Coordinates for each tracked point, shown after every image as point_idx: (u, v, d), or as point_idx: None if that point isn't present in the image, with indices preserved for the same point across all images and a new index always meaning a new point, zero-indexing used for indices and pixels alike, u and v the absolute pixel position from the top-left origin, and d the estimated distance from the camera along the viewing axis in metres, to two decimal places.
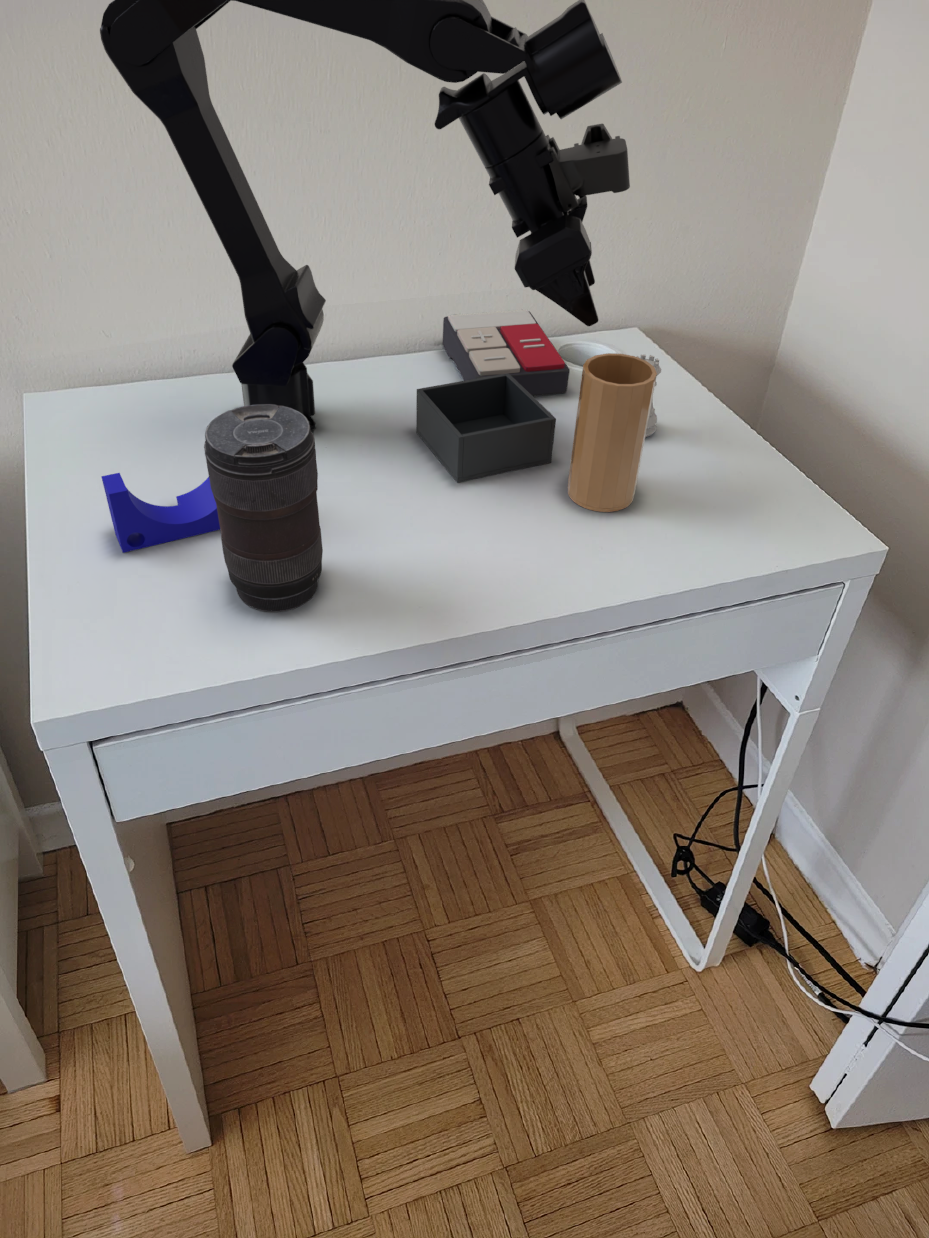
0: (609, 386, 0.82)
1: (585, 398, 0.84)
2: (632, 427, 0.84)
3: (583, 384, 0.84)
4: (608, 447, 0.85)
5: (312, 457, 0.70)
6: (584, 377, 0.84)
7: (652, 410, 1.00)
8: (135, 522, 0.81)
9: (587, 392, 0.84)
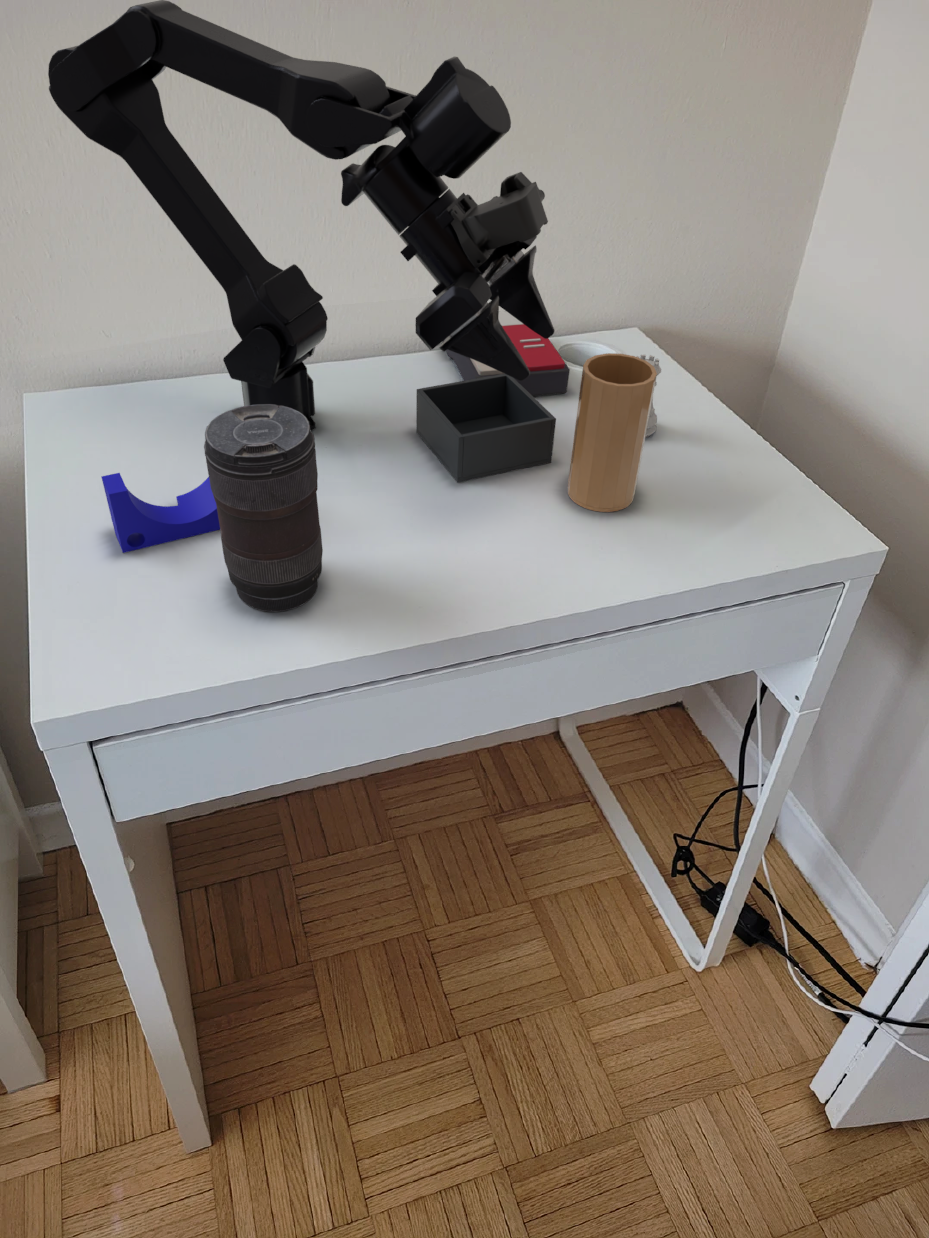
0: (609, 386, 0.82)
1: (585, 398, 0.84)
2: (632, 427, 0.84)
3: (583, 384, 0.84)
4: (608, 447, 0.85)
5: (312, 457, 0.70)
6: (584, 377, 0.84)
7: (652, 410, 1.00)
8: (135, 522, 0.81)
9: (587, 392, 0.84)
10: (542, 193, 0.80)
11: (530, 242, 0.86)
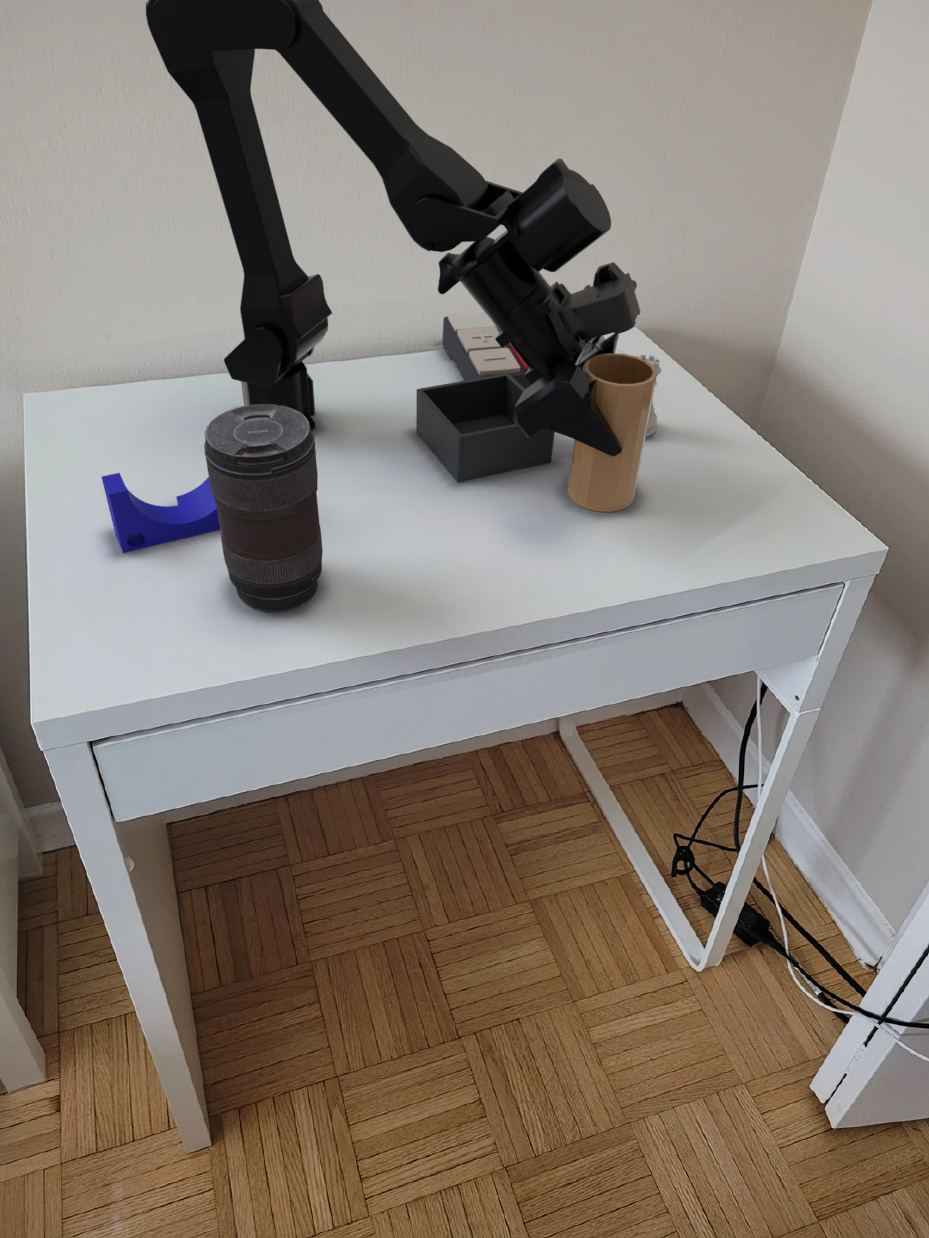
0: (609, 386, 0.82)
1: None
2: (632, 426, 0.84)
3: None
4: None
5: (312, 457, 0.70)
6: None
7: (652, 410, 1.00)
8: (135, 522, 0.81)
9: None
10: (635, 284, 0.82)
11: None
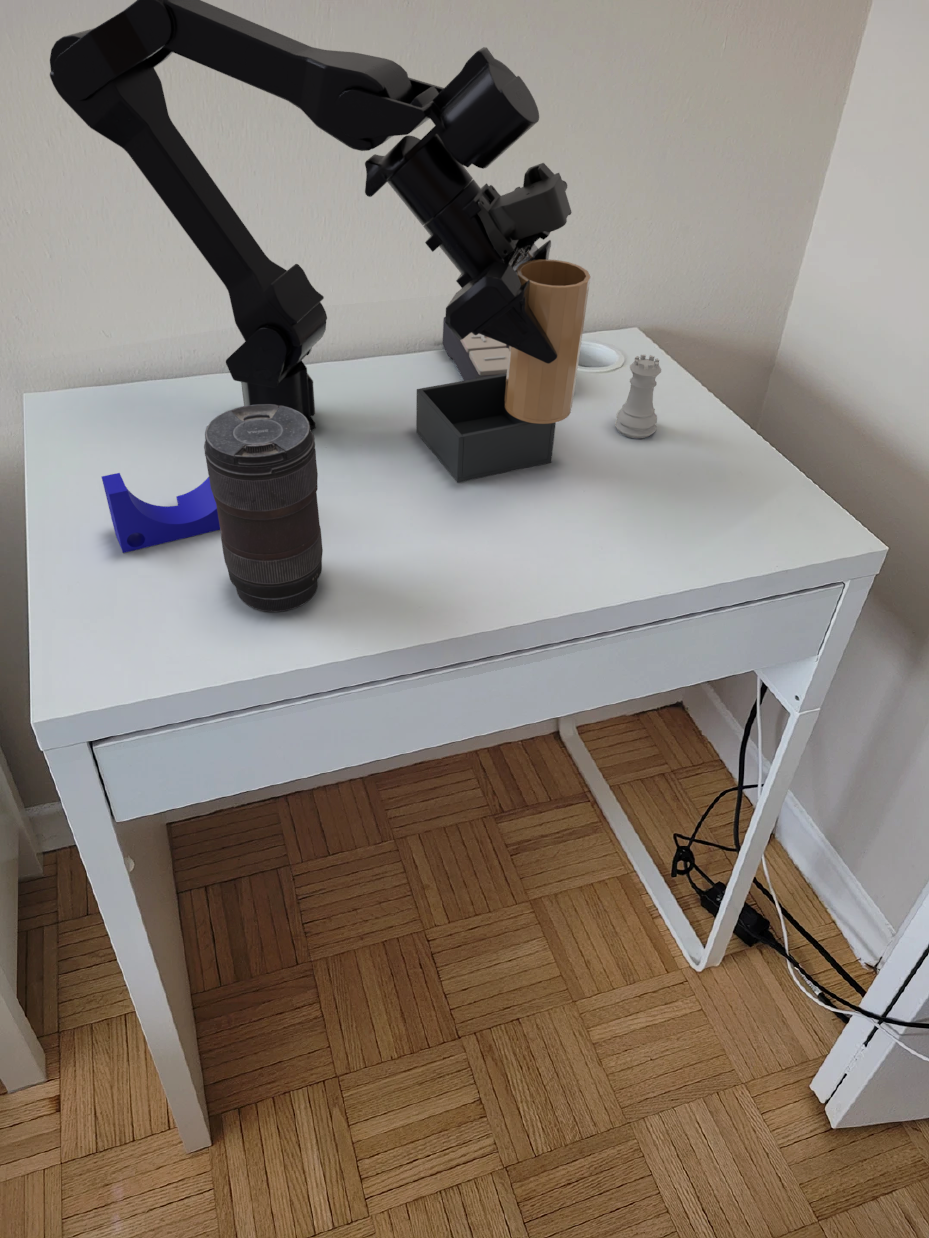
0: (542, 288, 0.80)
1: None
2: (567, 332, 0.83)
3: None
4: None
5: (312, 457, 0.70)
6: None
7: (652, 410, 1.00)
8: (135, 522, 0.81)
9: None
10: (565, 184, 0.81)
11: (548, 232, 0.87)
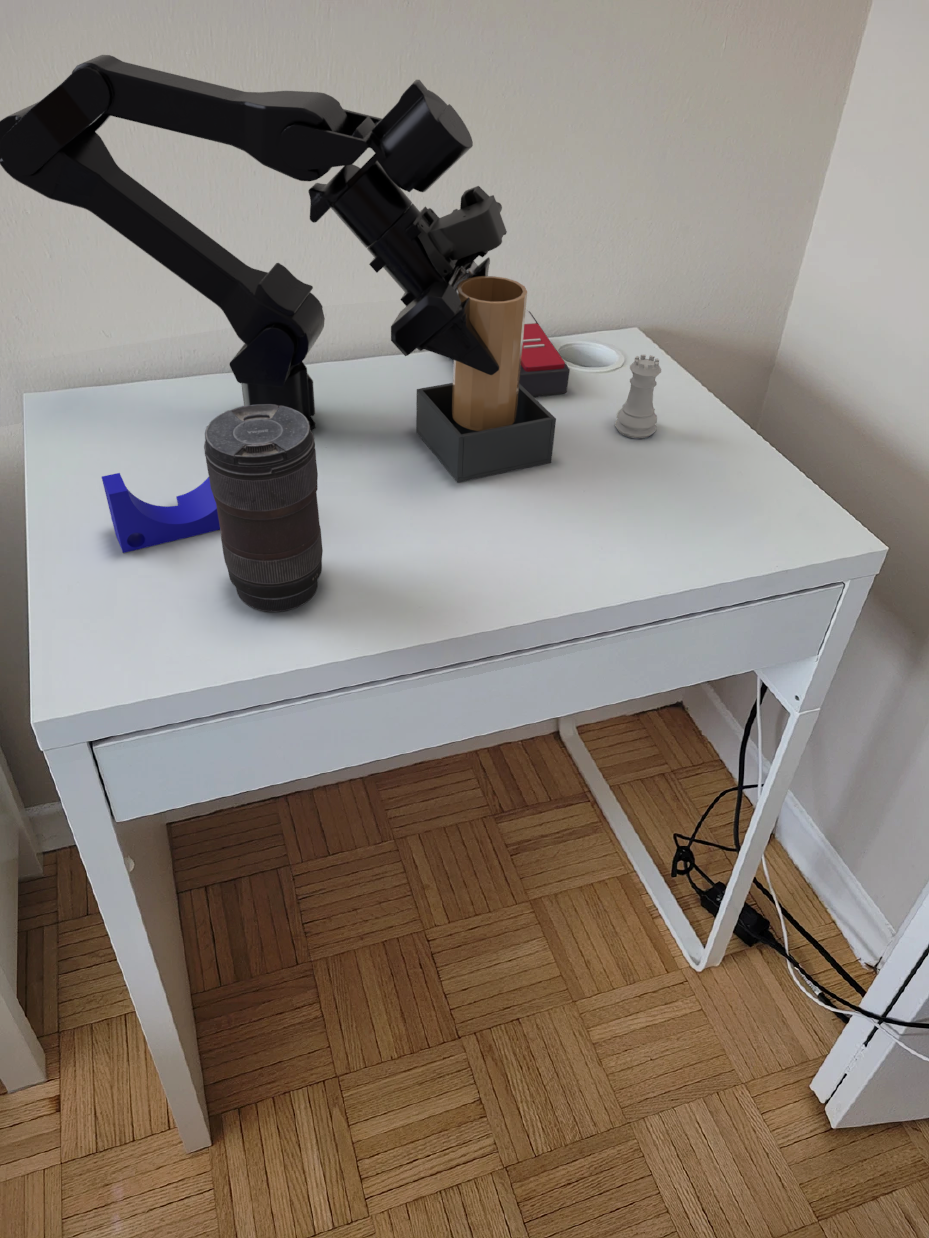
0: (482, 304, 0.85)
1: None
2: (507, 344, 0.88)
3: None
4: None
5: (312, 457, 0.70)
6: None
7: (652, 410, 1.00)
8: (135, 522, 0.81)
9: None
10: (500, 205, 0.85)
11: None
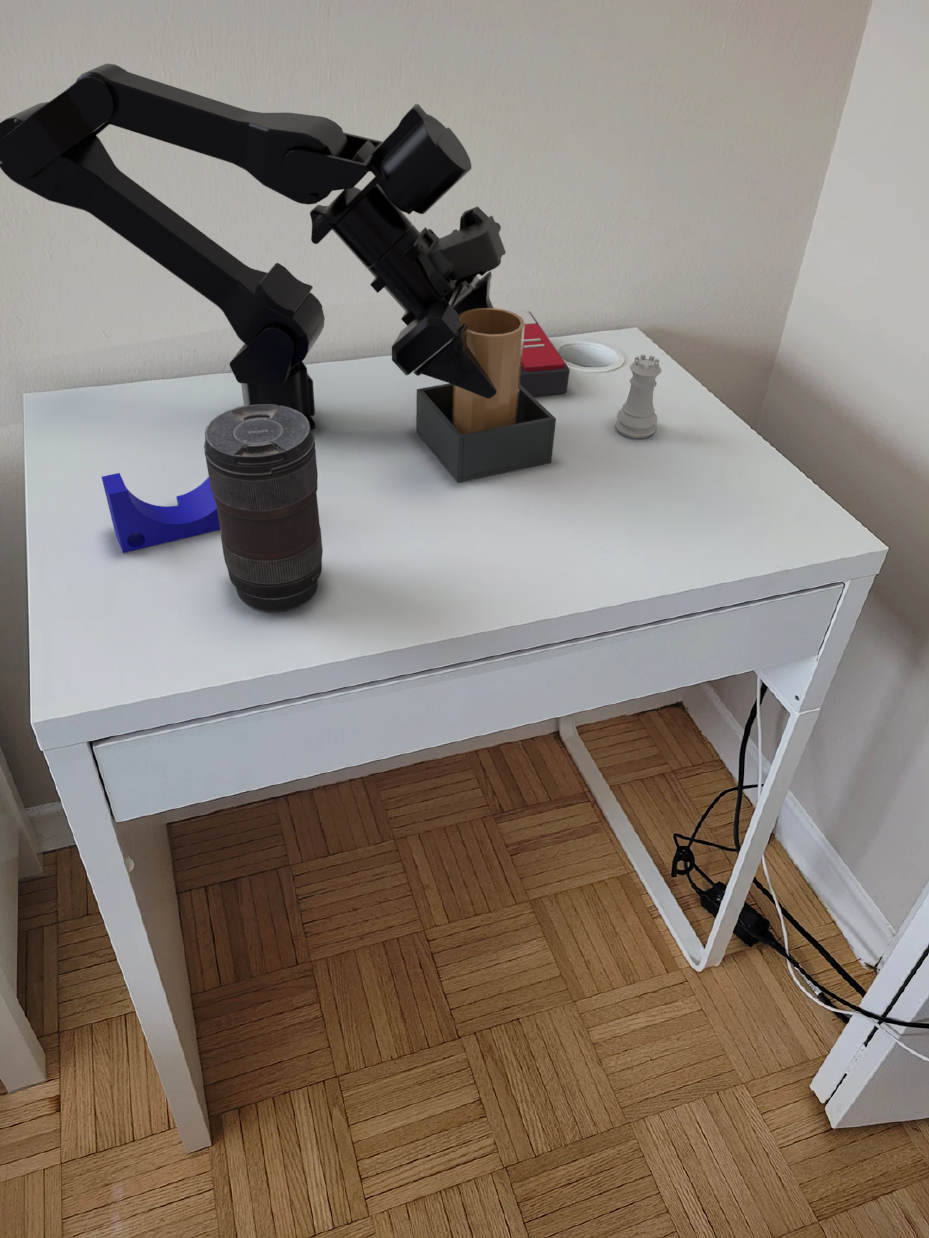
0: (481, 337, 0.87)
1: None
2: (506, 375, 0.90)
3: None
4: None
5: (312, 457, 0.70)
6: None
7: (652, 410, 1.00)
8: (135, 522, 0.81)
9: None
10: (498, 226, 0.86)
11: None
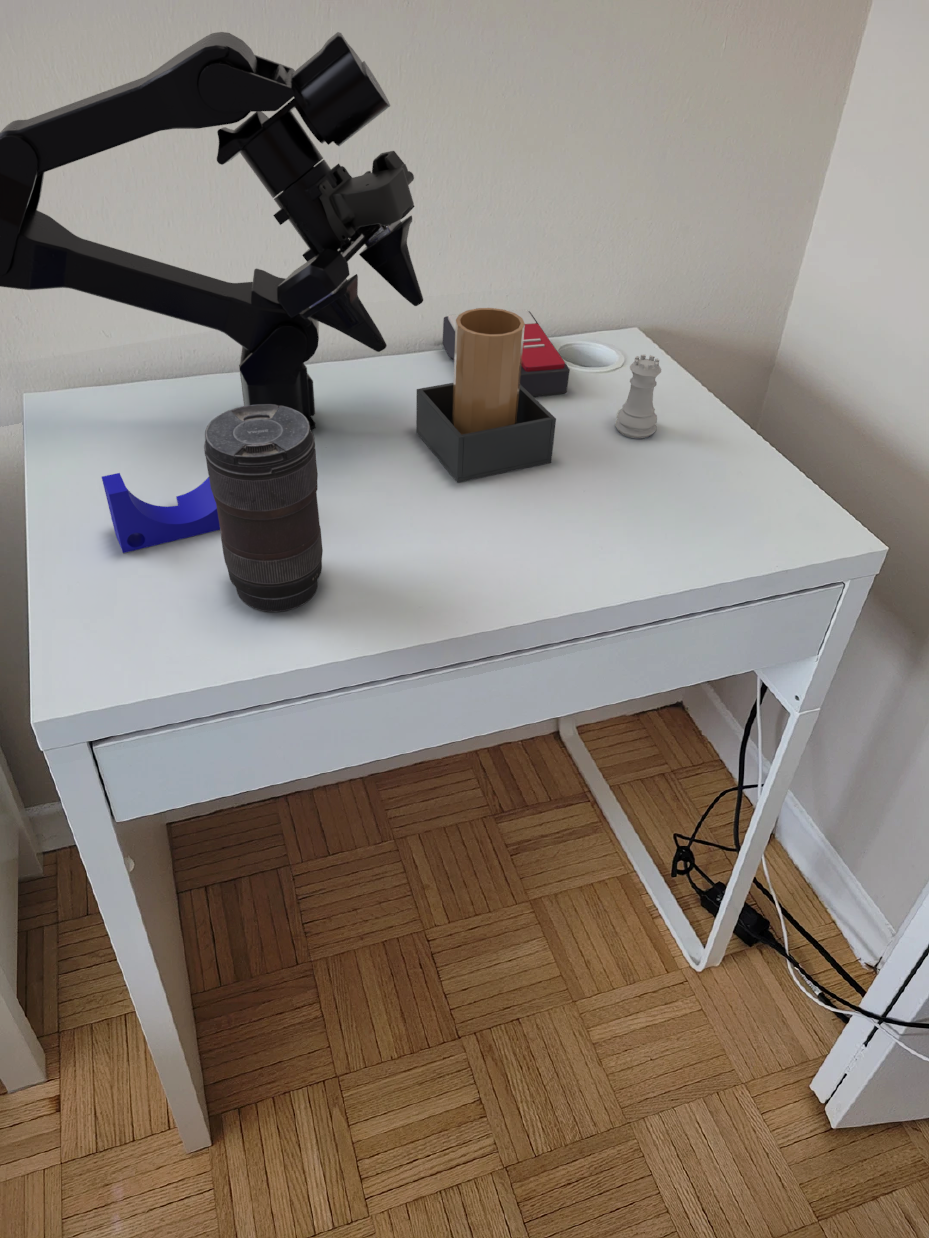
0: (481, 337, 0.87)
1: (460, 350, 0.89)
2: (506, 375, 0.90)
3: (457, 337, 0.89)
4: (485, 396, 0.91)
5: (312, 457, 0.70)
6: (457, 330, 0.89)
7: (652, 410, 1.00)
8: (135, 522, 0.81)
9: (461, 344, 0.89)
10: (411, 176, 0.84)
11: (405, 213, 0.91)
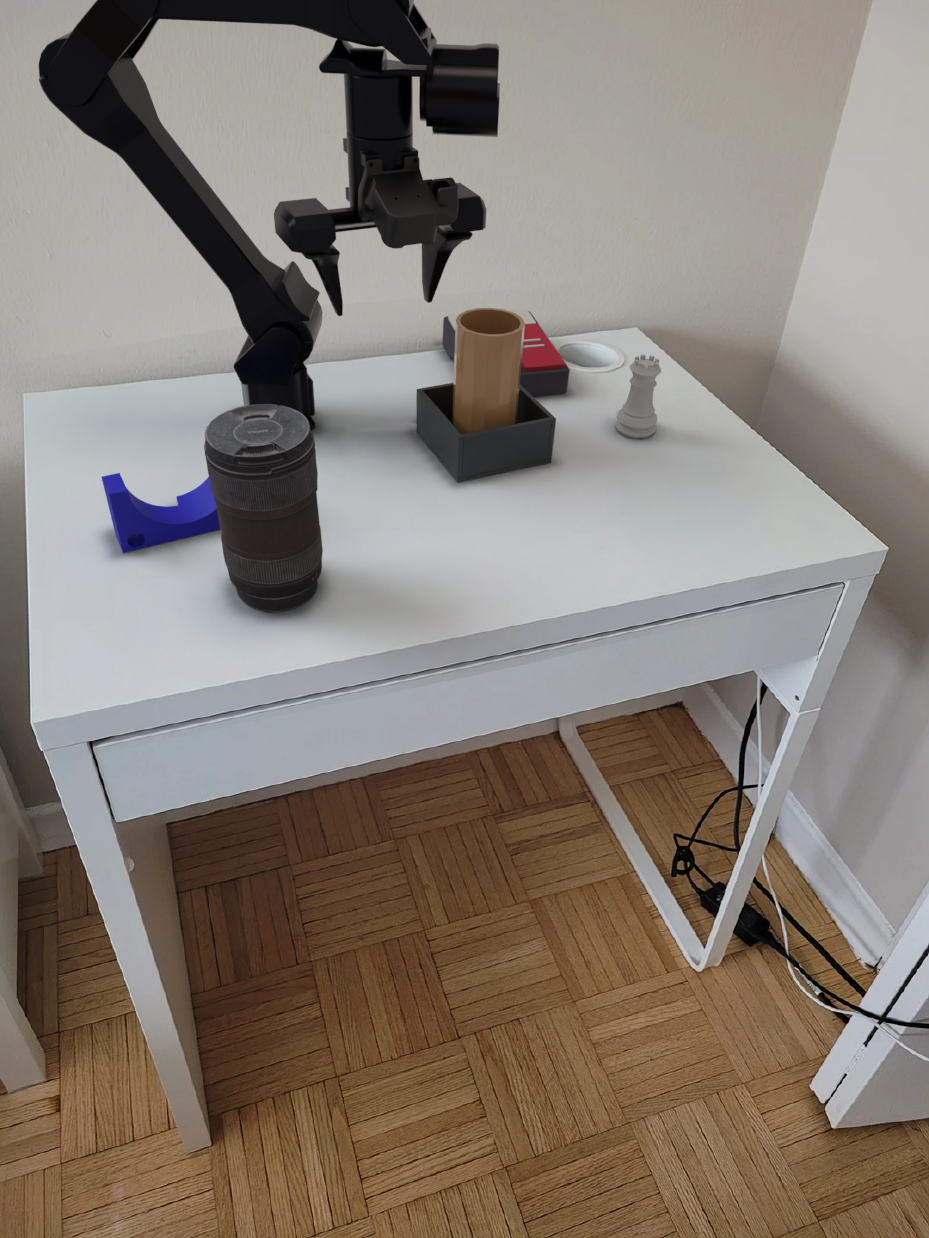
0: (481, 337, 0.87)
1: (460, 350, 0.89)
2: (506, 375, 0.90)
3: (457, 337, 0.89)
4: (485, 396, 0.91)
5: (312, 457, 0.70)
6: (457, 330, 0.89)
7: (652, 410, 1.00)
8: (135, 522, 0.81)
9: (461, 344, 0.89)
10: (447, 221, 0.81)
11: (462, 230, 0.87)
